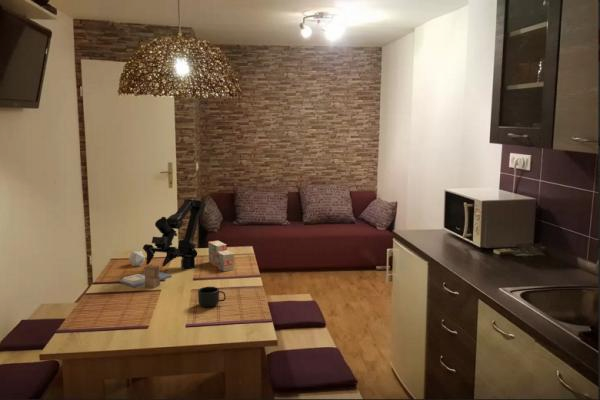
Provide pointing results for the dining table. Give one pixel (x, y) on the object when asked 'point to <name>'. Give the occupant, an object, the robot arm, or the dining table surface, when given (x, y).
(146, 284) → the pillar
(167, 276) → the board
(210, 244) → the stack of blocks
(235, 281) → the dining table surface
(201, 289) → the mug
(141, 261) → the die
